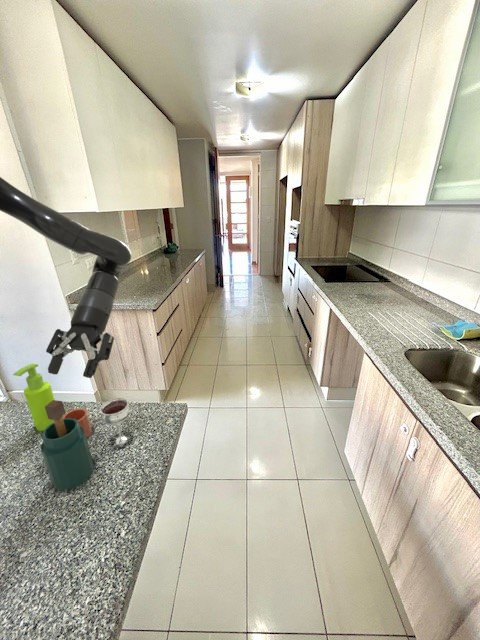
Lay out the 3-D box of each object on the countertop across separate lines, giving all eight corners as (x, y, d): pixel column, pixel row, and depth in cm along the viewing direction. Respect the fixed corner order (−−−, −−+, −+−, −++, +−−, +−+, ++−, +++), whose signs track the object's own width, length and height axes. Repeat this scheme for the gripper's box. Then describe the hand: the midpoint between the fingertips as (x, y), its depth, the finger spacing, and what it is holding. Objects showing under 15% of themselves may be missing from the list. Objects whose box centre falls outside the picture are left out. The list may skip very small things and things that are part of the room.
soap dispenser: (27, 432, 73) (5, 371, 66) (49, 416, 80) (32, 359, 72) (44, 436, 72) (24, 375, 65) (65, 419, 78) (49, 361, 71)
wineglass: (102, 443, 70) (94, 407, 66) (125, 428, 75) (119, 394, 71) (116, 456, 66) (108, 419, 62) (139, 439, 72) (133, 404, 67)
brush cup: (62, 442, 70) (56, 422, 68) (77, 427, 76) (72, 407, 73) (82, 445, 69) (76, 424, 67) (96, 429, 75) (91, 409, 72)
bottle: (44, 488, 58) (26, 441, 53) (71, 458, 66) (58, 413, 61) (77, 494, 57) (63, 445, 52) (101, 462, 65) (90, 417, 60)
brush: (64, 477, 60) (41, 407, 53) (73, 466, 63) (52, 398, 56) (75, 478, 60) (54, 408, 53) (83, 468, 62) (64, 400, 55)
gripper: (57, 302, 62) (27, 368, 56) (112, 305, 60) (88, 374, 54) (77, 315, 69) (53, 376, 62) (127, 319, 67) (108, 381, 61)
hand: (69, 375), depth 58 cm, fingers open, 8 cm apart
